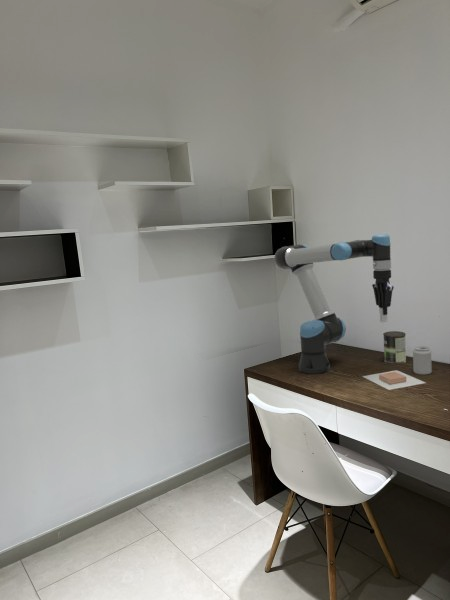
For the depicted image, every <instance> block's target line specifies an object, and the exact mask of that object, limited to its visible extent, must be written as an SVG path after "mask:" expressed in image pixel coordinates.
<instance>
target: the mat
mask: <svg viewBox="0 0 450 600" xmlns="http://www.w3.org/2000/svg"><path fill="white" fill-rule="evenodd" d="M390 372H397V373H399V374H401V375H404V376H406V380H407V381H405V382H400V383H394V384H389V383H387V382H385V381H383V380H380V379H379V374H385V373H390ZM362 378H365V379H367V380H369V381H370V382H372V383H374V384H376V385H378V386H381V388H384V389H386V390H388V391H392V390H396V389H402V388H407V387H412V386H418V385H423V384H426V382H425V381H423V380H420V379H418V378H416V377H413V376H412V375H409V374H406V373H405V372H402V371H399V370H397V369H396V370H395V369H394V370H391V371H386V372H379V373H374V374H373V373H372V374H367V375H362Z"/></svg>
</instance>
